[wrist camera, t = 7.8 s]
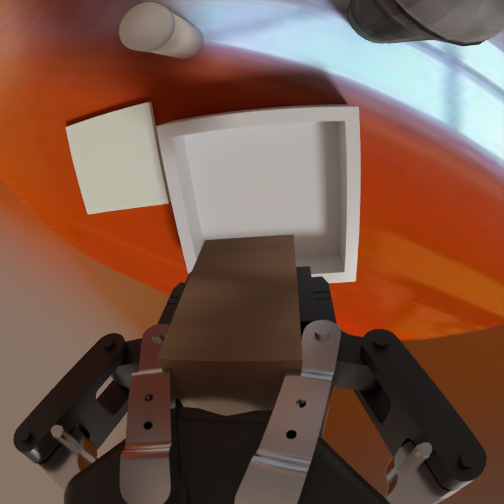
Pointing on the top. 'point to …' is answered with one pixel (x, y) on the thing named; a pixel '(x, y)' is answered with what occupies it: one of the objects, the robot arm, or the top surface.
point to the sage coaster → (119, 160)
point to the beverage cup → (427, 20)
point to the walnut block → (236, 325)
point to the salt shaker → (159, 32)
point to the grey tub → (269, 181)
